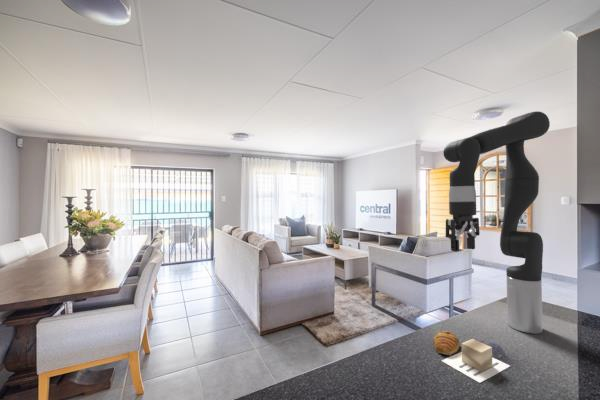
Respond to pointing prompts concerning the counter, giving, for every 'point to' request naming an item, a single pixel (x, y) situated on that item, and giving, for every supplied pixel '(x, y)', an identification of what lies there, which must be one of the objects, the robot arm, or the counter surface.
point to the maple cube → (477, 355)
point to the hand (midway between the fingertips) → (463, 250)
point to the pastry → (446, 343)
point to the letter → (471, 372)
